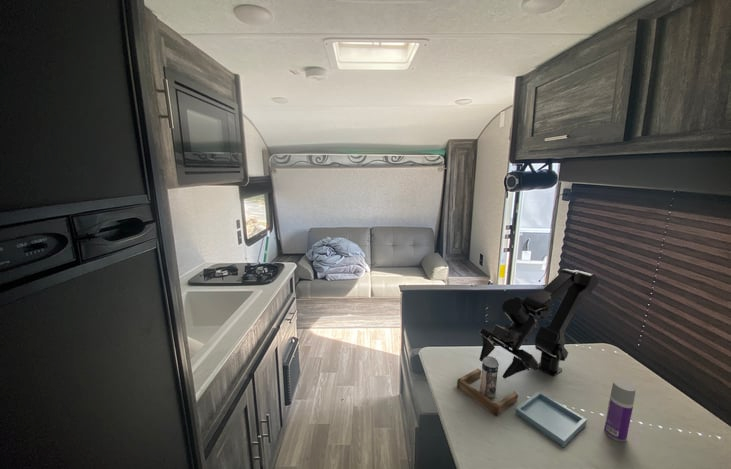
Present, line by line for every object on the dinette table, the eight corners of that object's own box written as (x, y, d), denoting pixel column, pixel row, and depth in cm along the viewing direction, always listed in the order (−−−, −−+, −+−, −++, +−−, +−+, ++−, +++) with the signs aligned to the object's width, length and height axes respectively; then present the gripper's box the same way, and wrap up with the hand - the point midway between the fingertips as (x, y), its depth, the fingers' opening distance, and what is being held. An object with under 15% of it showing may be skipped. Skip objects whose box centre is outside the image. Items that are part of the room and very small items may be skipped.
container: (630, 443, 77) (641, 392, 74) (610, 439, 78) (619, 390, 75) (619, 428, 81) (628, 380, 79) (600, 425, 82) (608, 378, 79)
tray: (538, 396, 93) (539, 391, 93) (585, 425, 82) (586, 419, 82) (514, 413, 86) (515, 407, 86) (563, 447, 75) (564, 441, 75)
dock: (477, 376, 103) (478, 368, 102) (517, 402, 91) (518, 393, 90) (456, 387, 97) (457, 379, 96) (496, 416, 85) (497, 407, 85)
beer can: (488, 401, 91) (491, 366, 89) (476, 391, 95) (479, 358, 93) (499, 395, 93) (502, 362, 91) (486, 386, 98) (489, 354, 95)
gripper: (485, 305, 100) (458, 341, 98) (536, 330, 84) (504, 375, 81) (500, 322, 105) (474, 357, 103) (550, 349, 88) (521, 392, 86)
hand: (491, 368), depth 93 cm, fingers open, 9 cm apart
